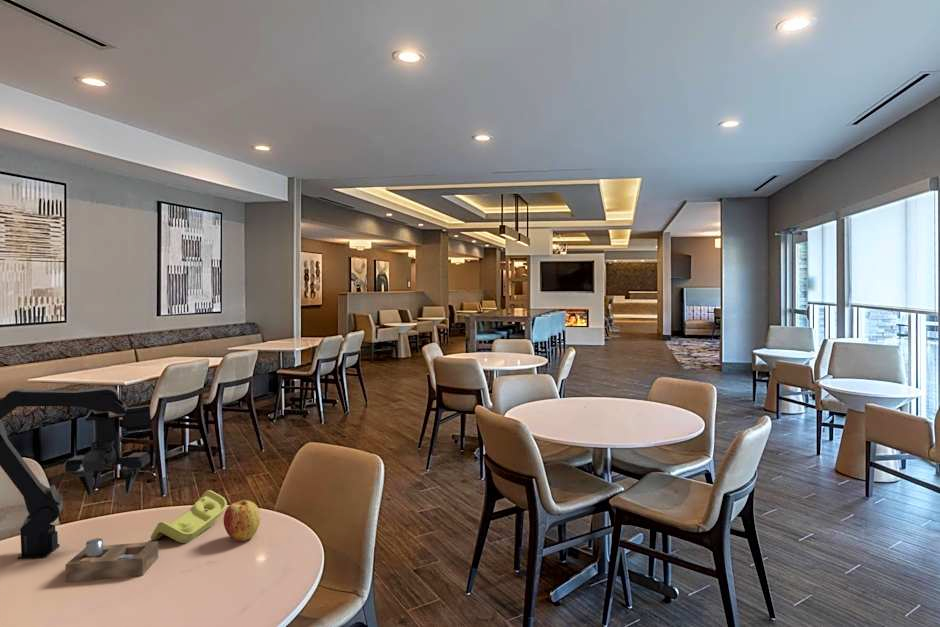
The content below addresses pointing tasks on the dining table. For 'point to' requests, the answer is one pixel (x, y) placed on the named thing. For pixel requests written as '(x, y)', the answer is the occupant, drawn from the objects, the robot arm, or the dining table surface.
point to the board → (113, 562)
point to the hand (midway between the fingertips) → (109, 493)
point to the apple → (242, 520)
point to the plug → (94, 548)
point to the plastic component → (193, 519)
